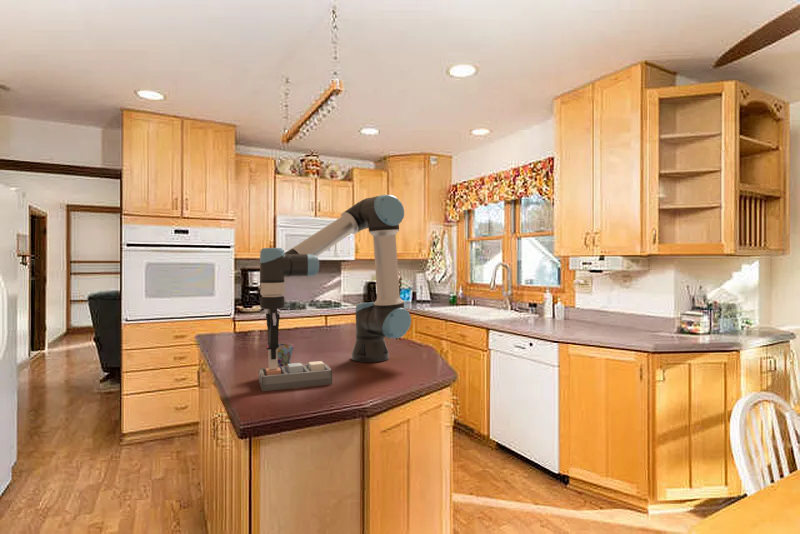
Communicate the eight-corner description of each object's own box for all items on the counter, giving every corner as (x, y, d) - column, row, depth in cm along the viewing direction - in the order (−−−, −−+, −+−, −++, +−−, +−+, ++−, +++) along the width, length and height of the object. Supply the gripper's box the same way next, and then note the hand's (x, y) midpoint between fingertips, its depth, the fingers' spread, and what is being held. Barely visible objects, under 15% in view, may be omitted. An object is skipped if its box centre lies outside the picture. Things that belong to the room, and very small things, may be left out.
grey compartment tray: (324, 375, 160) (324, 362, 160) (332, 384, 149) (332, 370, 149) (259, 381, 152) (258, 368, 152) (262, 391, 141) (261, 376, 141)
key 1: (279, 374, 151) (279, 367, 151) (281, 377, 147) (281, 370, 147) (265, 375, 149) (265, 368, 149) (266, 379, 145) (266, 371, 145)
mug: (296, 377, 157) (295, 347, 157) (268, 380, 154) (267, 349, 154) (291, 370, 168) (291, 341, 168) (265, 372, 165) (264, 343, 165)
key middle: (300, 369, 153) (300, 362, 153) (303, 372, 149) (303, 365, 149) (287, 371, 152) (287, 363, 152) (289, 374, 148) (289, 366, 148)
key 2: (321, 368, 156) (321, 361, 156) (324, 370, 152) (324, 363, 152) (308, 369, 154) (308, 362, 154) (311, 372, 150) (311, 364, 150)
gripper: (258, 294, 152) (259, 365, 153) (261, 297, 140) (262, 374, 140) (281, 294, 155) (282, 363, 155) (287, 296, 143) (287, 372, 143)
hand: (273, 368), depth 148 cm, fingers closed
